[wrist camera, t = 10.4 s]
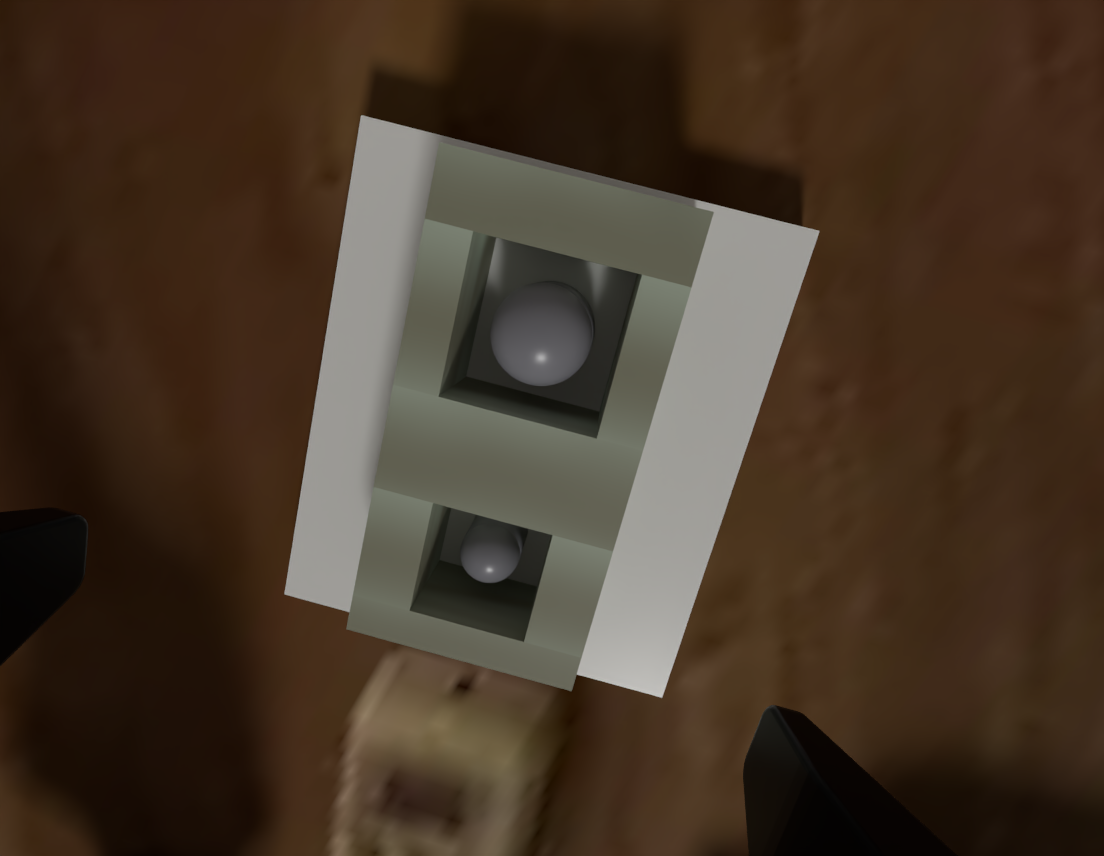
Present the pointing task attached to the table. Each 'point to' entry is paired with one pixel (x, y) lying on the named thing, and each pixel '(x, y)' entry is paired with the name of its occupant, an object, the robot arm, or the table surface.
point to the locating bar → (515, 420)
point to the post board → (548, 394)
